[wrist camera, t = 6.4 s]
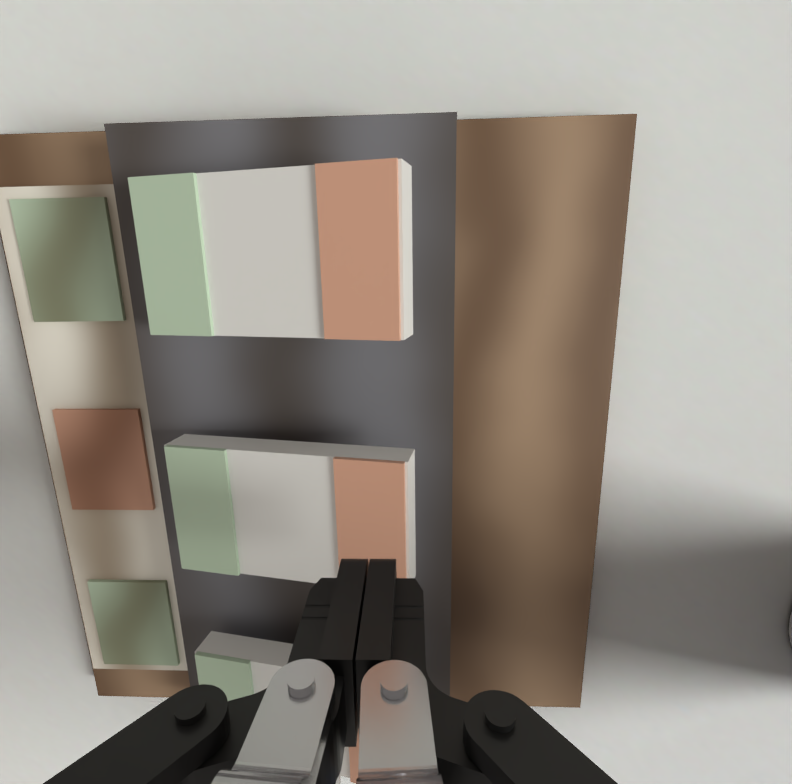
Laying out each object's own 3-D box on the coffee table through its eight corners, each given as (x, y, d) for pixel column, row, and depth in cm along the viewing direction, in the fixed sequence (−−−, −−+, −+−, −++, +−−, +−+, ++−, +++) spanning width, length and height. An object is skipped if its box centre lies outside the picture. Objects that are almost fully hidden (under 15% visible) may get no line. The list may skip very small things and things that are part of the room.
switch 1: (411, 166, 15) (400, 157, 13) (413, 334, 16) (402, 341, 15) (155, 183, 17) (124, 177, 16) (174, 329, 18) (147, 334, 17)
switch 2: (414, 448, 17) (406, 463, 16) (415, 574, 18) (408, 598, 17) (184, 433, 19) (161, 446, 18) (200, 548, 20) (179, 568, 19)
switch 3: (416, 663, 20) (409, 692, 18) (417, 762, 21) (411, 795, 20) (211, 630, 21) (192, 654, 20) (223, 722, 23) (206, 750, 21)
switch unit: (624, 122, 20) (692, 76, 15) (573, 688, 27) (608, 785, 22) (3, 141, 21) (-126, 105, 16) (111, 677, 28) (45, 767, 23)
